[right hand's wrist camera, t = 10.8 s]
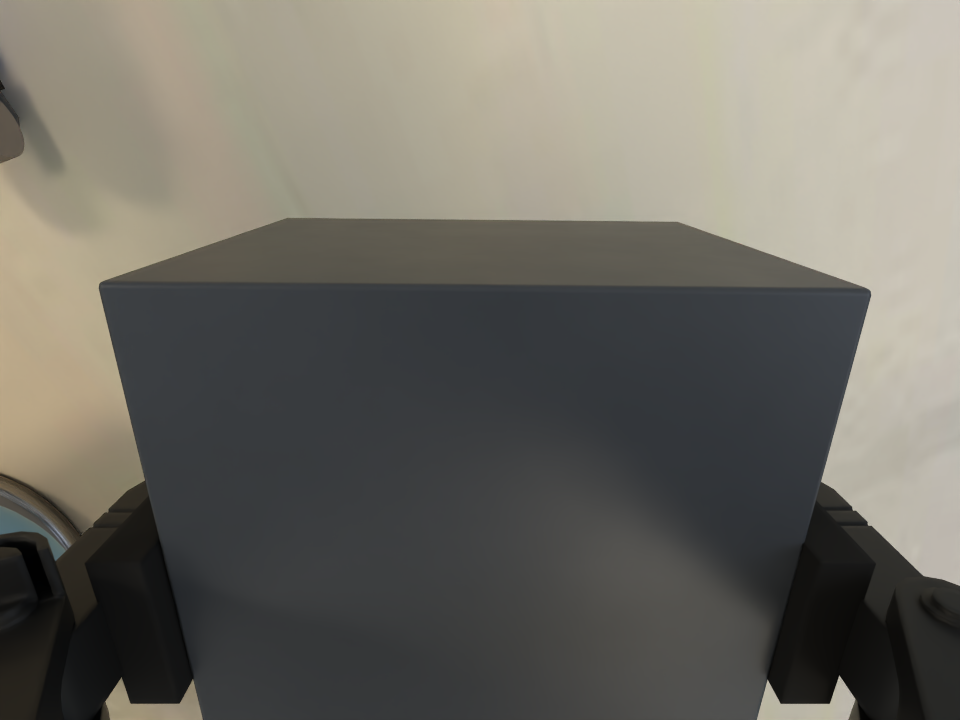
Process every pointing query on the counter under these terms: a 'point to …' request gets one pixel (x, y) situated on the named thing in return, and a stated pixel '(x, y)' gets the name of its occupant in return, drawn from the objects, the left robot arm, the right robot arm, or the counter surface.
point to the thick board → (482, 463)
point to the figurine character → (9, 131)
